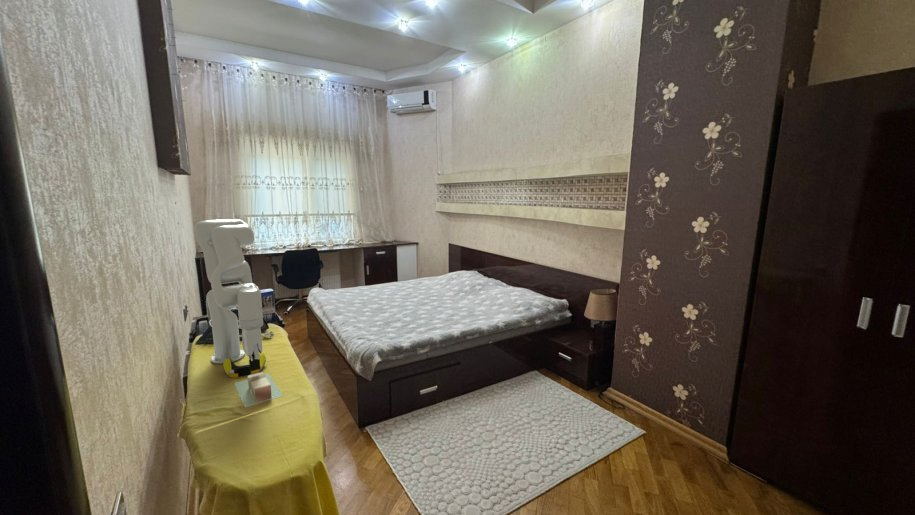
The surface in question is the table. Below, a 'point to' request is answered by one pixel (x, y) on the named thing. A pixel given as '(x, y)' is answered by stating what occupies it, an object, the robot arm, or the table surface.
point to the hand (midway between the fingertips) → (255, 369)
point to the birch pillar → (259, 387)
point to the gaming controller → (241, 368)
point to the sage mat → (247, 396)
